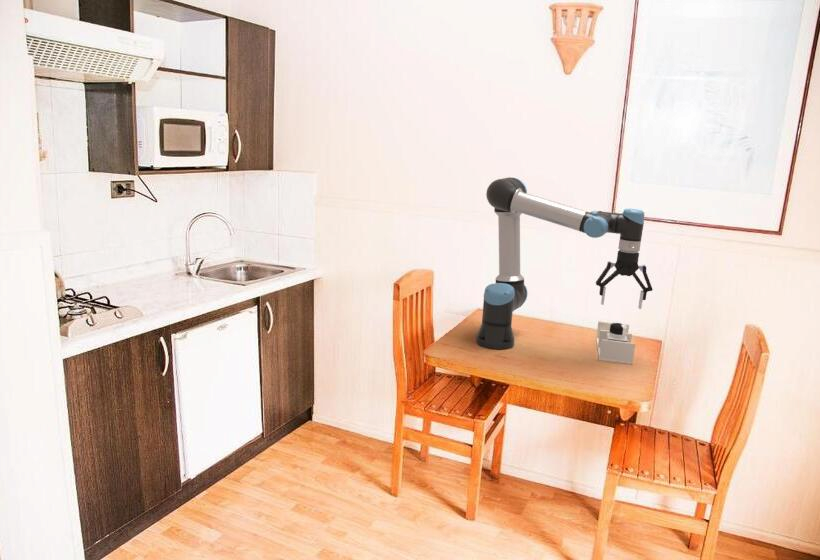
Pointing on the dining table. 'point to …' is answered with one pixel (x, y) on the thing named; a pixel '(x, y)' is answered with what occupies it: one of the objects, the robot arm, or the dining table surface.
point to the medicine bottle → (617, 332)
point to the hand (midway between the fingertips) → (620, 306)
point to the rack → (614, 345)
